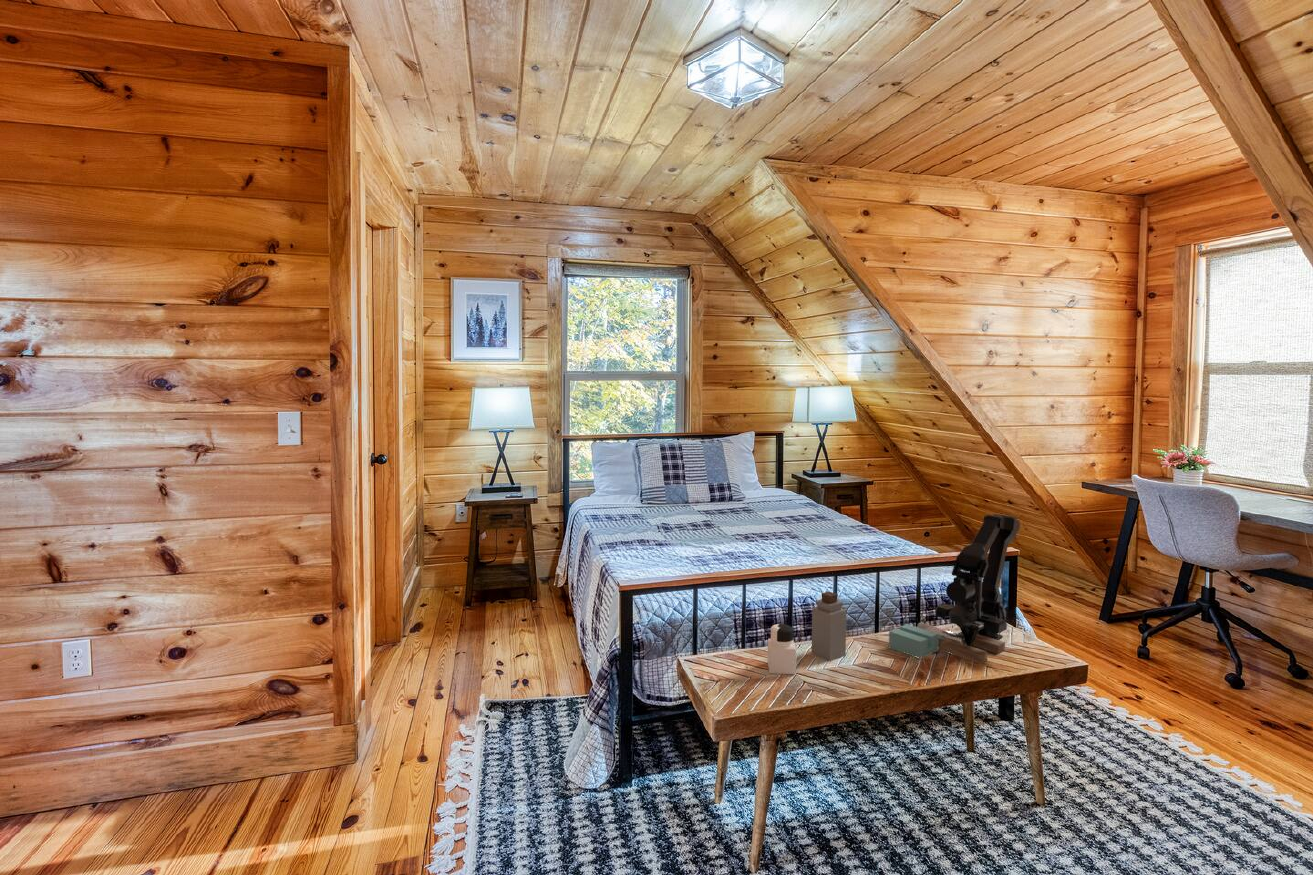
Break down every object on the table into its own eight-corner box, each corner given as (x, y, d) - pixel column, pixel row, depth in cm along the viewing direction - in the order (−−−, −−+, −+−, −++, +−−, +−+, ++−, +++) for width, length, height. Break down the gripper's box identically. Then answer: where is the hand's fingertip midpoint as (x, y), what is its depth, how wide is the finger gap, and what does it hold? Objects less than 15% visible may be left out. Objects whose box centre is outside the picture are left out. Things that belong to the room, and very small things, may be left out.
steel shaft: (916, 634, 199) (916, 623, 199) (922, 632, 201) (923, 621, 201) (960, 649, 188) (960, 637, 188) (966, 646, 190) (966, 634, 190)
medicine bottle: (793, 663, 178) (793, 621, 177) (796, 674, 171) (796, 631, 170) (767, 662, 178) (768, 621, 178) (769, 673, 171) (770, 630, 170)
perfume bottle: (845, 655, 183) (846, 594, 182) (829, 661, 179) (830, 599, 178) (827, 647, 189) (828, 588, 187) (811, 653, 185) (812, 592, 183)
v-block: (906, 639, 194) (907, 623, 194) (937, 650, 187) (938, 633, 186) (888, 647, 189) (889, 631, 188) (920, 658, 181) (920, 641, 180)
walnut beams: (964, 637, 196) (964, 630, 196) (1004, 650, 187) (1005, 642, 186) (939, 649, 187) (939, 641, 187) (980, 663, 178) (980, 655, 177)
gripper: (926, 592, 189) (924, 643, 190) (990, 608, 174) (988, 664, 175) (945, 585, 196) (943, 634, 197) (1008, 600, 181) (1006, 653, 182)
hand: (968, 646), depth 187 cm, fingers closed
